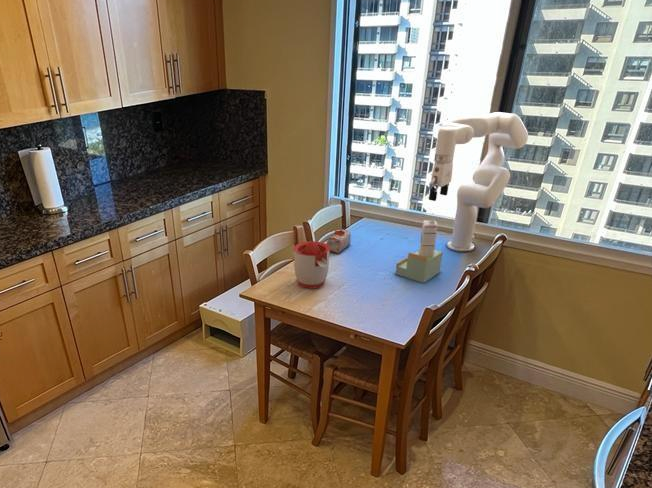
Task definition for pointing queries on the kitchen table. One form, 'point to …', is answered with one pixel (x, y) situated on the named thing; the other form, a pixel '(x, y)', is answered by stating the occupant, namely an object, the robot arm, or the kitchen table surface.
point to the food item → (339, 241)
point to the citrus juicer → (311, 263)
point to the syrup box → (428, 238)
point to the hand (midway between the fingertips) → (437, 197)
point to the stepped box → (419, 266)
